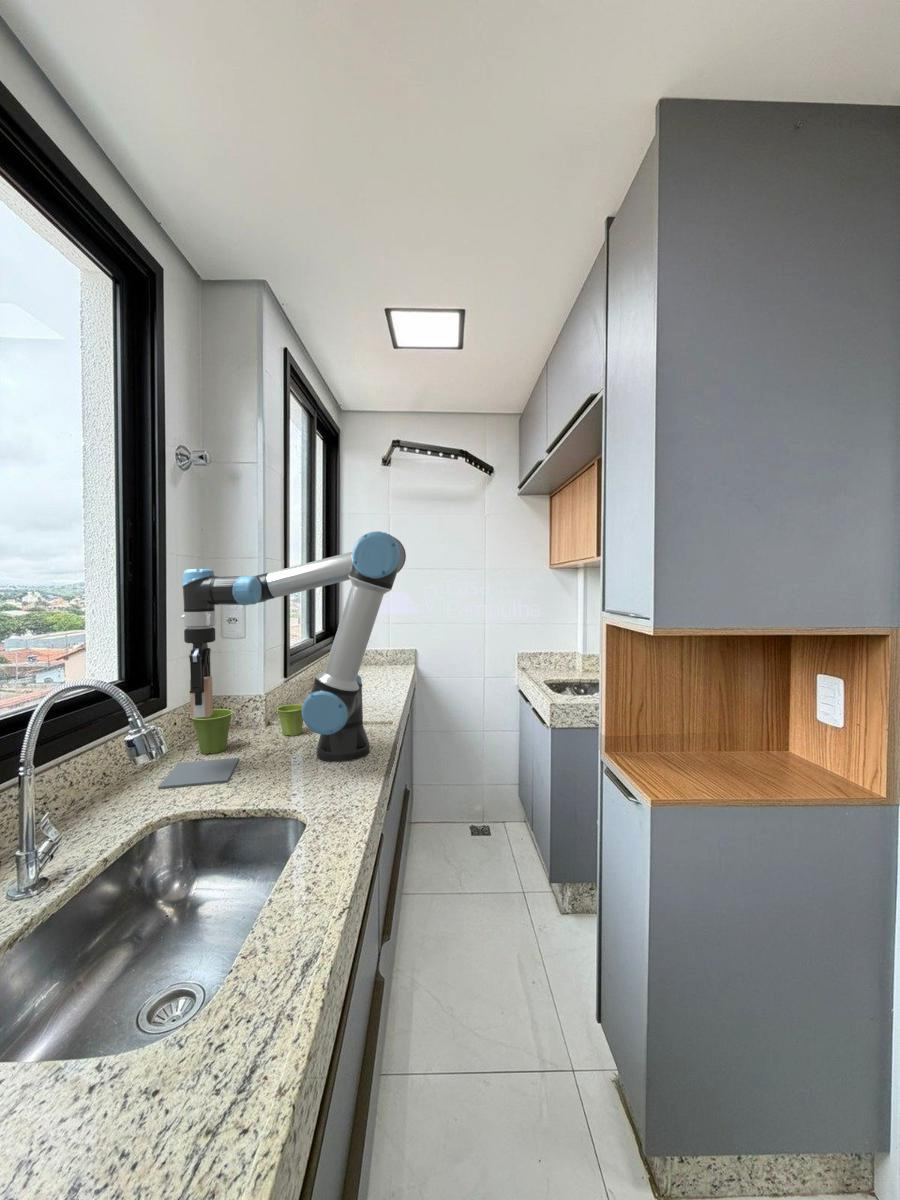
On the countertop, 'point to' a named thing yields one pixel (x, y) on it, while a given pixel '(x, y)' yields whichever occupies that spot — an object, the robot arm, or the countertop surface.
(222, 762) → the mat
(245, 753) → the countertop surface
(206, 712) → the block
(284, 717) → the plant pot
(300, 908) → the countertop surface
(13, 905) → the countertop surface
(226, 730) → the plant pot
